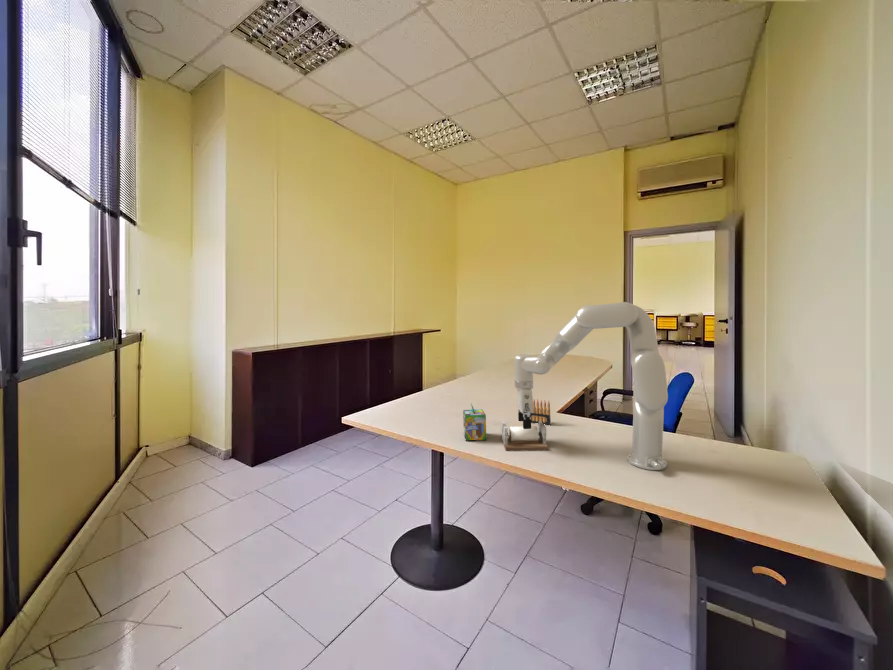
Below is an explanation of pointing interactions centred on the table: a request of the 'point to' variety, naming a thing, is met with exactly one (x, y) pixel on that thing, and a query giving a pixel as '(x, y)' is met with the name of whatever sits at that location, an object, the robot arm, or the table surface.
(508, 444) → the holder
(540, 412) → the ammunition clip
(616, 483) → the table surface
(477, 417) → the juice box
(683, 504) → the table surface
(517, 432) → the roll
